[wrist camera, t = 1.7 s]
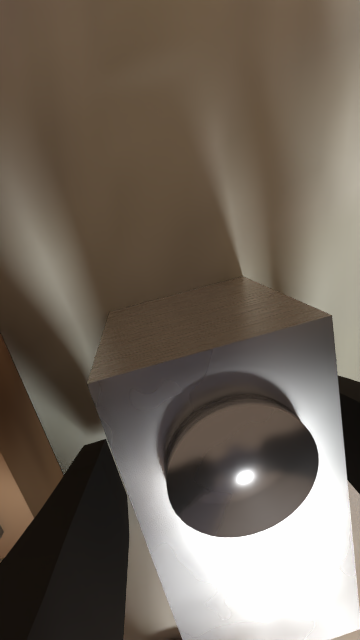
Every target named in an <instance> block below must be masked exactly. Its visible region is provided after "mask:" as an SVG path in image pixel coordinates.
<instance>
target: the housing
mask: <svg viewBox="0 0 360 640" xmlns="http://www.w3.org/2000/svg"><path fill="white" fill-rule="evenodd" d="M87 385H88V388H89V391H90V393H91V396H92V399H93V401H94V404H95V407H96V410H97V412H98V415H99V418H100V420H101V423H102V426H103V428H104V431H105V434H106V436H107V439H108V442H109V444H110V447H111V450H112V452H113V455H114V458H115V460H116V463H117V466H118V468H119V471H120V474H121V477H122V479H123V482H124V485H125V487H126V490H127V493H128V495H129V498H130V501H131V503H132V506H133V509H134V511H135V514H136V517H137V519H138V522H139V525H140V527H141V530H142V533H143V535H144V538H145V541H146V543H147V546H148V549H149V552H150V554H151V557H152V560H153V562H154V565H155V568H156V570H157V573H158V576H159V578H160V581H161V584H162V586H163V589H164V592H165V594H166V597H167V600H168V602H169V605H170V608H171V610H172V613H173V616H174V619H175V621H176V624H177V627H178V629H179V632H180V635H181V637H182V640H330V639H333V638H336V637H339V636H341V635H344V634H347V633H350V632H353V631H356V630H359V629H360V612H359V601H358V590H357V579H356V569H355V558H354V547H353V536H352V526H351V515H350V504H349V493H348V482H347V472H346V461H345V450H344V439H343V429H342V418H341V407H340V396H339V386H338V375H337V364H336V353H335V343H334V332H333V321H332V315H330V314H328V313H326V312H324V311H321V310H319V309H317V308H314V307H312V306H310V305H307V304H305V303H303V302H301V301H298V300H296V299H294V298H291V297H289V296H287V295H285V294H282V293H280V292H278V291H275V290H273V289H271V288H269V287H266V286H264V285H262V284H259V283H257V282H255V281H253V280H250V279H248V278H246V277H243V276H242V277H238V278H235V279H231V280H227V281H223V282H220V283H216V284H212V285H208V286H205V287H201V288H197V289H193V290H190V291H186V292H182V293H178V294H175V295H171V296H167V297H163V298H160V299H156V300H152V301H148V302H145V303H141V304H137V305H133V306H130V307H126V308H122V309H119V310H115V311H111V312H109V315H108V318H107V321H106V325H105V328H104V331H103V334H102V337H101V340H100V344H99V347H98V350H97V353H96V356H95V360H94V363H93V366H92V369H91V372H90V375H89V379H88V382H87Z"/></svg>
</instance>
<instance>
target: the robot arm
mask: <svg viewBox="0 0 360 640" xmlns="http://www.w3.org/2000/svg"><path fill="white" fill-rule="evenodd" d="M338 386H339V396H340V407H341V418H342V429H343V439H344V450H345V461H346V472H347V480H348V481H349V482H350V483H351V485H352V486H353V487H354V488H355V489H356V490H357V492H358V493H359V494H360V382H357V381H354V380H351V379H348V378H345V377H341V376H338ZM128 549H129V520H128V503H127V494H126V492H125V489H124V486H123V484H122V481H121V478H120V476H119V473H118V470H117V468H116V465H115V462H114V460H113V457H112V454H111V452H110V449H109V446H108V444H107V441H106V439H105V440H101V441H98V442H95V443H91V444H88V445H84V446H83V448H82V449H81V451H80V452H79V454H78V455H77V456H76V458H75V459H74V461H73V462H72V464H71V465H70V467H69V468H68V470H67V471H66V473H65V474H64V476H63V477H62V479H61V480H60V482H59V483H58V485H57V486H56V488H55V489H54V491H53V492H52V494H51V495H50V497H49V498H48V499H47V501H46V502H45V504H44V505H43V507H42V508H41V510H40V511H39V512H38V514H37V515H36V516H35V518H34V519H33V520H32V522H31V523H30V525H29V526H28V527H27V529H26V530H25V531H24V533H23V534H22V535H21V537H20V538H19V539H18V541H17V542H16V543H15V545H14V546H13V547H12V549H11V550H10V551H9V553H8V554H7V555H6V557H5V558H4V559H3V560H2V562H1V563H0V640H123V635H124V618H125V601H126V584H127V567H128Z"/></svg>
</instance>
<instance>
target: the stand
mask: <svg viewBox="0 0 360 640" xmlns="http://www.w3.org/2000/svg"><path fill="white" fill-rule="evenodd" d="M63 476H64V475H63V473H62V471H61V469H60V466H59V464H58V462H57V460H56V457H55V455H54V453H53V451H52V448H51V446H50V444H49V442H48V439H47V437H46V435H45V433H44V430H43V428H42V426H41V424H40V421H39V419H38V417H37V415H36V412H35V410H34V408H33V406H32V403H31V401H30V399H29V397H28V394H27V392H26V390H25V388H24V385H23V383H22V381H21V379H20V376H19V374H18V372H17V370H16V367H15V365H14V363H13V361H12V358H11V356H10V354H9V352H8V349H7V347H6V345H5V343H4V340H3V338H2V336H1V334H0V559H2V558H5V557H6V555H7V554H8V553H9V551H10V550H11V549H12V547H13V546H14V545H15V543H16V542H17V541H18V539H19V538H20V537H21V535H22V534H23V533H24V531H25V530H26V529H27V527H28V526H29V525H30V523H31V522H32V520H33V519H34V518H35V516H36V515H37V514H38V512H39V511H40V510H41V508H42V507H43V505H44V504H45V502H46V501H47V499H48V498H49V497H50V495H51V494H52V492H53V491H54V489H55V488H56V486H57V485H58V483H59V482H60V480H61V479H62V477H63Z"/></svg>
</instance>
